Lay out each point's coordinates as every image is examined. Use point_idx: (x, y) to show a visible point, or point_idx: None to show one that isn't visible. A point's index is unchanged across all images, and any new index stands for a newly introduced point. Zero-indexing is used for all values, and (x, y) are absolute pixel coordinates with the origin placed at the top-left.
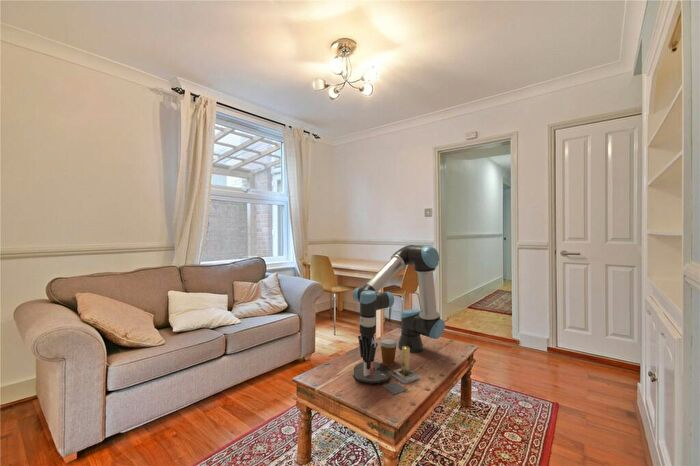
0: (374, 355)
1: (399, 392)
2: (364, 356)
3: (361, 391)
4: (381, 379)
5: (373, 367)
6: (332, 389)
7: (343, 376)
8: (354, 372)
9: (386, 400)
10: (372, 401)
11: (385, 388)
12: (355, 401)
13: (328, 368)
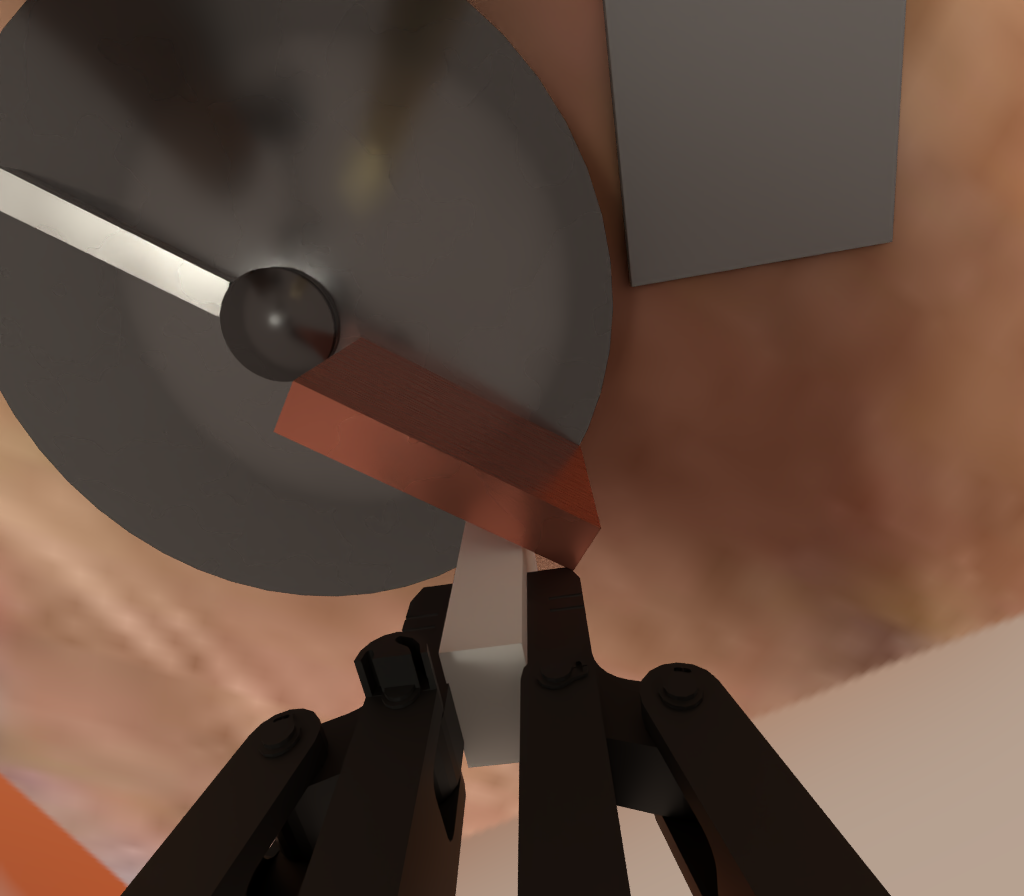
0: (878, 891)
1: (896, 126)
2: (453, 868)
3: (612, 570)
4: (608, 298)
5: (248, 280)
6: (464, 782)
7: (237, 623)
8: (299, 591)
9: (920, 397)
10: (841, 546)
11: (693, 274)
12: (747, 684)
13: (21, 699)
